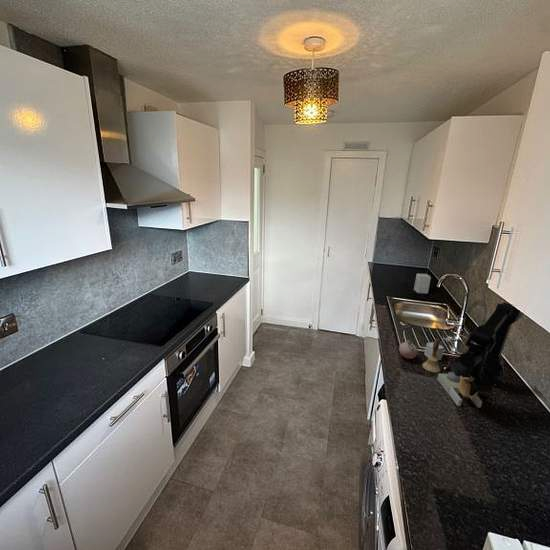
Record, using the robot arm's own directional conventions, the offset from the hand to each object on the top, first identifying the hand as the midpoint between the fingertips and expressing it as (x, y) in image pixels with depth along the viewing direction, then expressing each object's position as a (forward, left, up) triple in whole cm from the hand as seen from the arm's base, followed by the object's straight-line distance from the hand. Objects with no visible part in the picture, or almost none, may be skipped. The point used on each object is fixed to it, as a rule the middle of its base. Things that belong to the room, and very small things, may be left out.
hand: (467, 390), depth 127 cm
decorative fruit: (+14, -30, -5) cm, 34 cm away
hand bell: (+4, -23, -5) cm, 24 cm away
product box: (-1, -33, -5) cm, 34 cm away
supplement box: (-36, -138, -5) cm, 143 cm away
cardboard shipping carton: (0, 0, -1) cm, 1 cm away
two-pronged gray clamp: (0, -5, -5) cm, 7 cm away
